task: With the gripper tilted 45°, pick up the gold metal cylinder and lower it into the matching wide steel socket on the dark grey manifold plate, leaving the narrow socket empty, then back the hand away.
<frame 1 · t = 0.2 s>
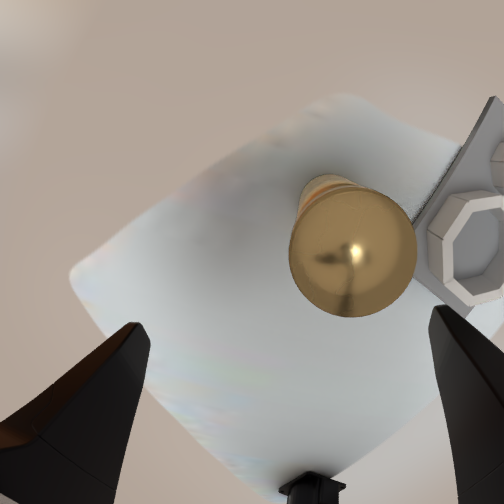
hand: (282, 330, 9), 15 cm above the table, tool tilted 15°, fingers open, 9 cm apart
gold metal cylinder: (330, 205, 22), on the table
manifold plate: (464, 238, 21), on the table
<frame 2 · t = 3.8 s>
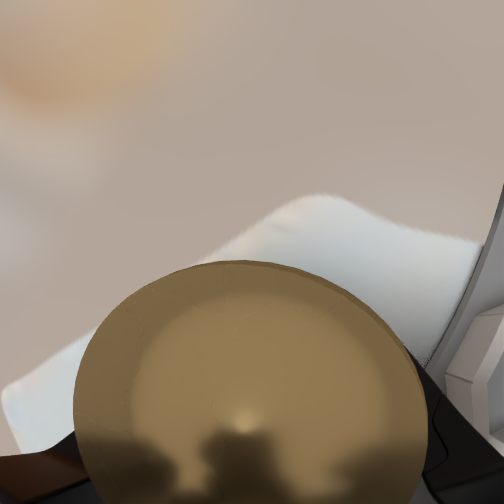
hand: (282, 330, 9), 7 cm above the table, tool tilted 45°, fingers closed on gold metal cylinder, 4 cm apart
gold metal cylinder: (298, 354, 15), on the table, touching gripper
manifold plate: (498, 373, 12), on the table
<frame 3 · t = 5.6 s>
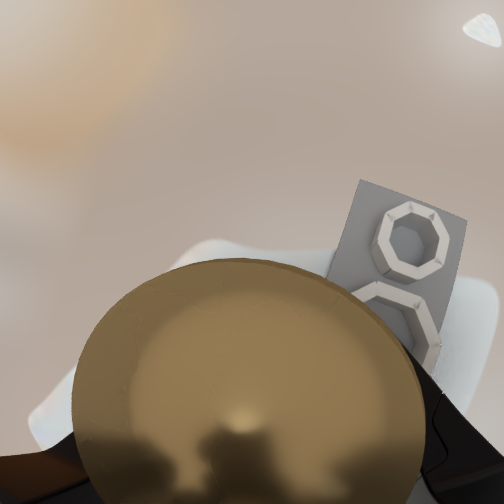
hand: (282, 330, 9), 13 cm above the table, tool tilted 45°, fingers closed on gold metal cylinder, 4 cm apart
gold metal cylinder: (298, 353, 15), point 7 cm above the table, touching gripper
manifold plate: (368, 345, 21), on the table
when the fingers open (9 cm above the table, at t = 7.4 s): gold metal cylinder drops 1 cm, resting on manifold plate.
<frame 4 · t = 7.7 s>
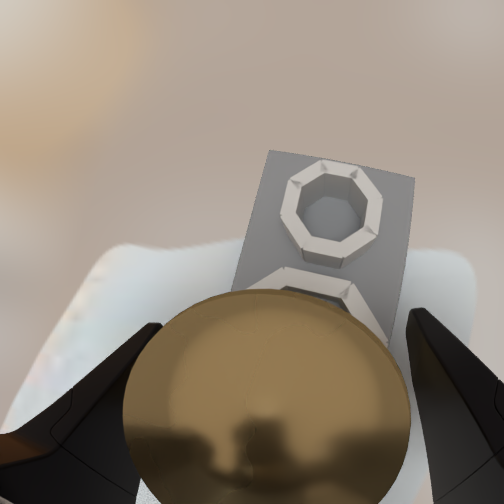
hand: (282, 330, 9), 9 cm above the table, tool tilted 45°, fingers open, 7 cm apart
gold metal cylinder: (300, 353, 16), point 1 cm above the table, touching manifold plate
manifold plate: (301, 350, 17), on the table
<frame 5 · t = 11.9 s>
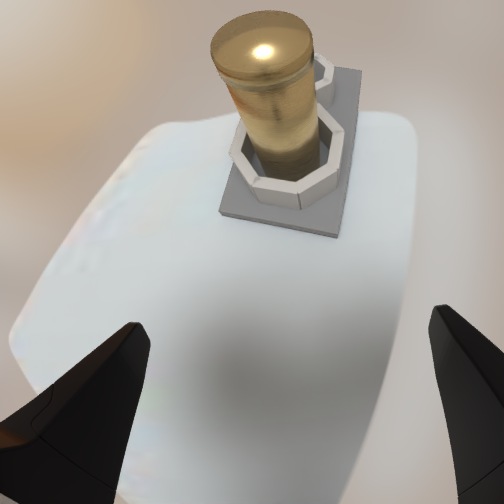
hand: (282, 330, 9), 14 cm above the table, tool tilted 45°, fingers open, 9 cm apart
gold metal cylinder: (291, 161, 24), point 1 cm above the table, touching manifold plate
manifold plate: (292, 167, 25), on the table
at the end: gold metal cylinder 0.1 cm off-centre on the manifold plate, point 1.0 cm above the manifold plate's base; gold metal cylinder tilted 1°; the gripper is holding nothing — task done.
